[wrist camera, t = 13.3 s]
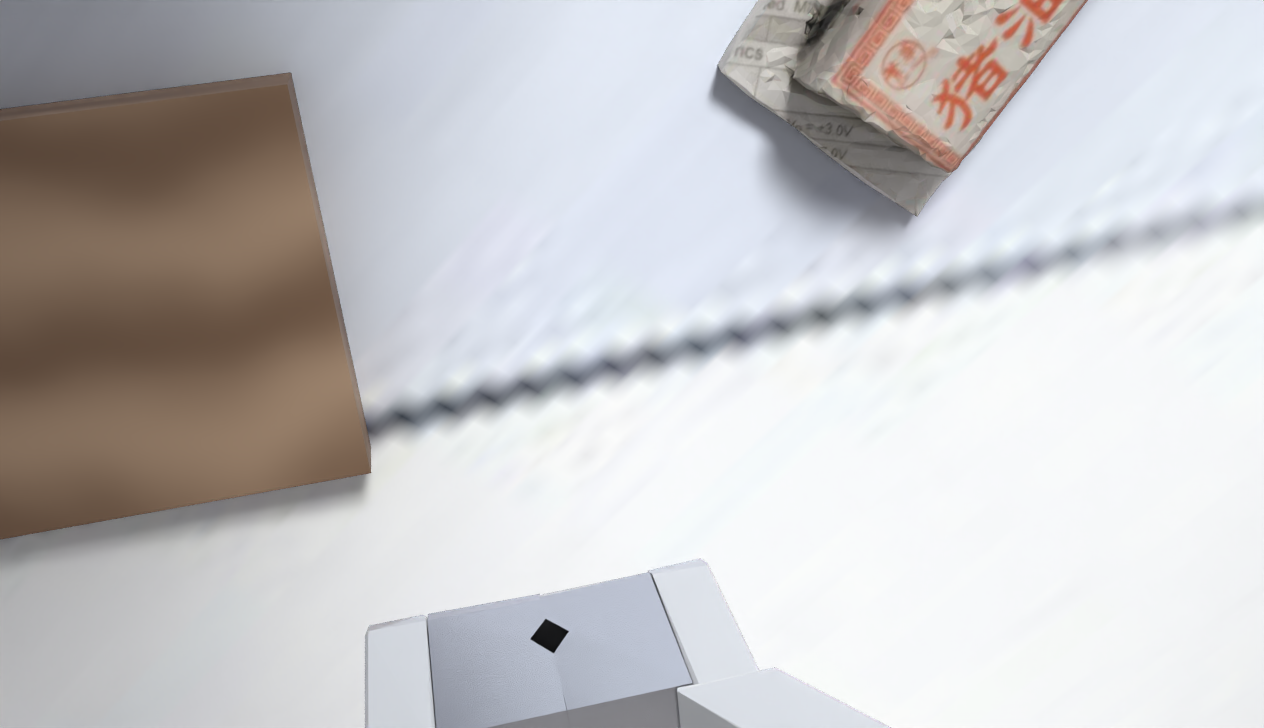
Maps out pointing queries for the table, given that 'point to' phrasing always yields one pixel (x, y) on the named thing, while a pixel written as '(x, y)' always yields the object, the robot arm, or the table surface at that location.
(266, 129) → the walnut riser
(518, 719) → the robot arm
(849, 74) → the packaged product
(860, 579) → the table surface
